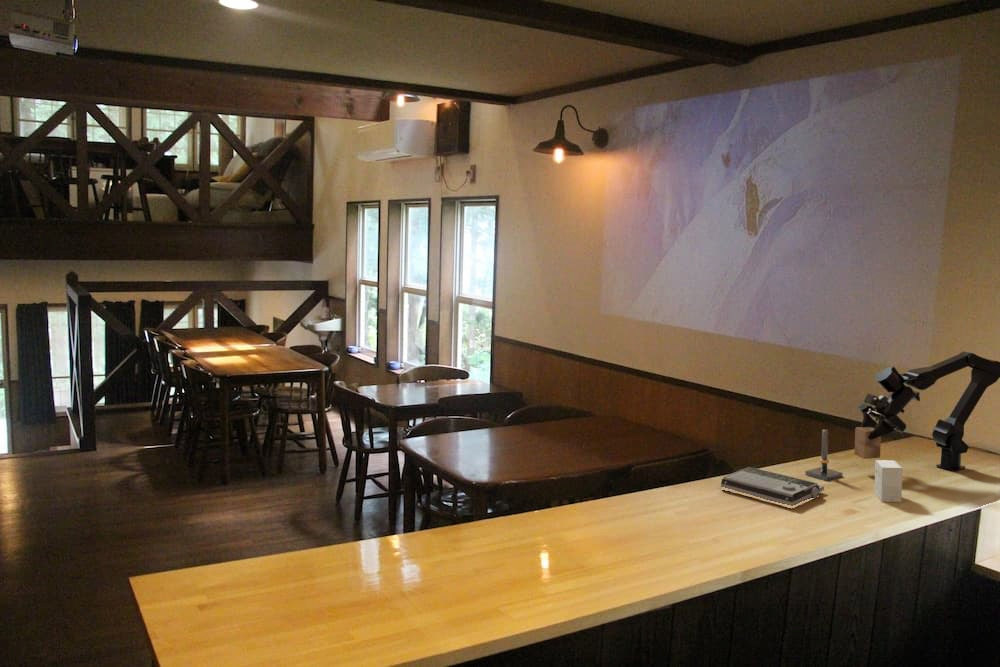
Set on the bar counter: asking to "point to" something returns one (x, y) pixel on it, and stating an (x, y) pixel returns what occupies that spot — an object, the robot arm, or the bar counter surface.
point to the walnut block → (866, 443)
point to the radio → (771, 486)
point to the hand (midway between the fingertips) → (863, 436)
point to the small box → (888, 481)
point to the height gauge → (824, 463)
